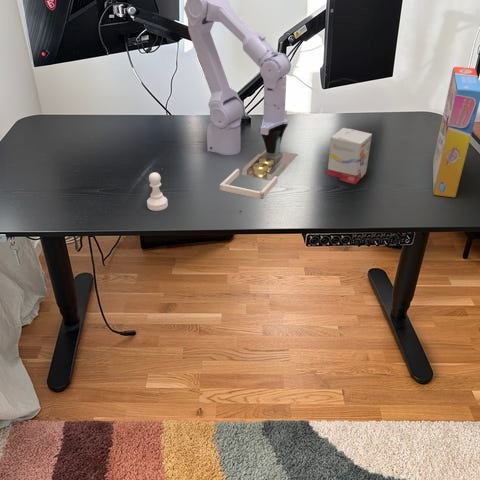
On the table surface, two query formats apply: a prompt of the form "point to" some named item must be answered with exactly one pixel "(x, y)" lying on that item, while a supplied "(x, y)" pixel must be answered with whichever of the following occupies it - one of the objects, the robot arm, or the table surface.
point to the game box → (455, 130)
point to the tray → (242, 191)
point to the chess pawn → (156, 194)
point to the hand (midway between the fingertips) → (273, 150)
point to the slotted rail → (276, 169)
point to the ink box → (349, 155)
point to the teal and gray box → (277, 155)
